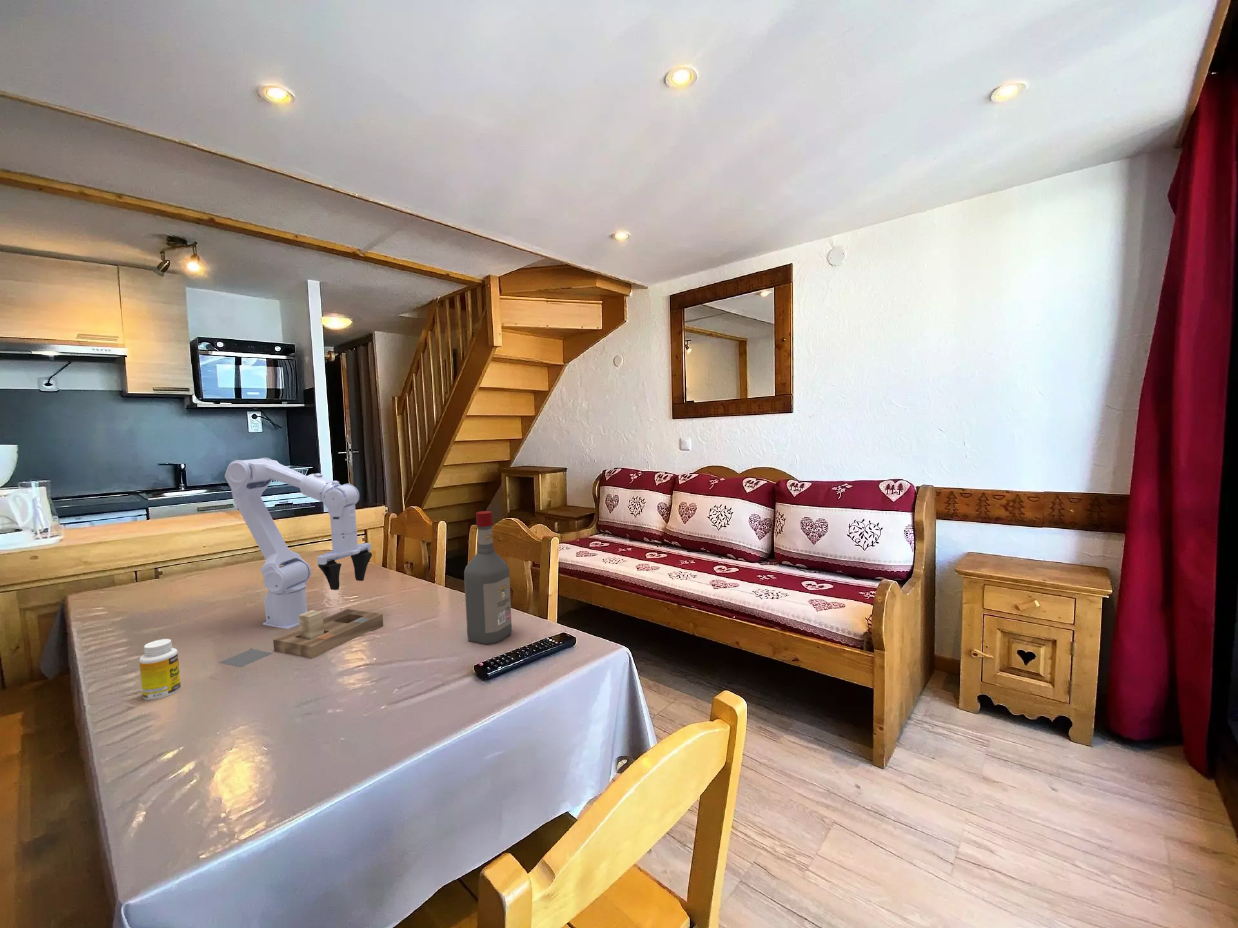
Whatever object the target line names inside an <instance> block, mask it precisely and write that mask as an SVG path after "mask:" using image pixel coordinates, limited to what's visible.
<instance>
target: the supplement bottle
mask: <svg viewBox="0 0 1238 928" xmlns="http://www.w3.org/2000/svg"><path fill="white" fill-rule="evenodd" d="M143 653H144V654H142V655H141V656H140V657H139V662H138V663H139V672H140V683H141V689H142V690H141V692H142V698H143V700H147V701H151V700H154V701H155V700H159V699H163V698H166V697H169V696H171V695H173V694H175V693H177V692H178V691H179V690H180V689H181V685H182V684H181V673H180V662H179V660H180V659H179V651H178V649H176V648H174V647H173V644H172V639H170V638H162V639H156V640H153V641H150V642H148V643H145V644H144V645H143Z"/></svg>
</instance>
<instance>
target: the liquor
mask: <svg viewBox="0 0 1238 928" xmlns="http://www.w3.org/2000/svg"><path fill="white" fill-rule="evenodd" d="M475 514H476V515H475V517H476V527H477V549H476V551H477V552H476V554H475V555H474V556H473V558H471V560H470V561H469V562H468V564H467V565H466V566H465V568H464V572H463V576H464V580H463V581H464V595H465V596H464V597H465V598H464V599H465V616H466V634H467V639H468V640H469V642H473V643H478V644H481V645H482V644H483V645H490V644H491V645H492V644H498V643H499V642H501V641H502V640H504V639H506V638H507V637H509V636H510V635H511V634H512V631H513V626H512V606H511V582H510V581H511V580H510V568H509V566H508V564H507V562H506V561H505V560H504V558H502V557H501V556H499V554H498V553H496V551H495V548H494V539H493V537H494V536H493V524H494V523H493V511H490V510H484V511H483V510H482V511H477V512H475Z"/></svg>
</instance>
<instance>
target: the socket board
mask: <svg viewBox="0 0 1238 928" xmlns="http://www.w3.org/2000/svg"><path fill="white" fill-rule="evenodd" d="M383 615H384V613H378V612H377V613H376V612H370V611H365V610H356V609H349V608H347V609H344V610H342V611H340V612H337V613H334V614H332V615H329V616H327V617H323V624H324V634H323V635H320V636H318V637H316V638H314V639H311V640H307V639H302V638H300V628H297V629H296V630H293V631H290V632H288V633H286V634H283V635H281V636H278V637H275V638H274V639H272V641H273V642H272V644H273V651H274V652H278V653H284V654H289V655H294V656H298V657H303V658H307V659H308V658H309V659H315V658H316V657H319V656H320V655H322V654H325V653H327V652H329V651H330V650H333V649H335V648H337V647H339V646H342V645H343V644H346V643H347V642H349V641H351V640H352V641H353V639H356V638H357V637H360V636H362V635H364V634H365V633H368V632H373V631H375V630H377V629H379V628H382V627H383V626H384V616H383Z"/></svg>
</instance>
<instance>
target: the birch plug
mask: <svg viewBox="0 0 1238 928" xmlns="http://www.w3.org/2000/svg"><path fill="white" fill-rule="evenodd" d="M323 619H324V612H323V611H320V610H314V609H312V610H310V611H307V612H306V613H303V614H301V615H299V625H298V626H299V629H300V638H302V639H307V640H311V639H314V638H316V637H318V636H320V635H323V634H324V624H323Z"/></svg>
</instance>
